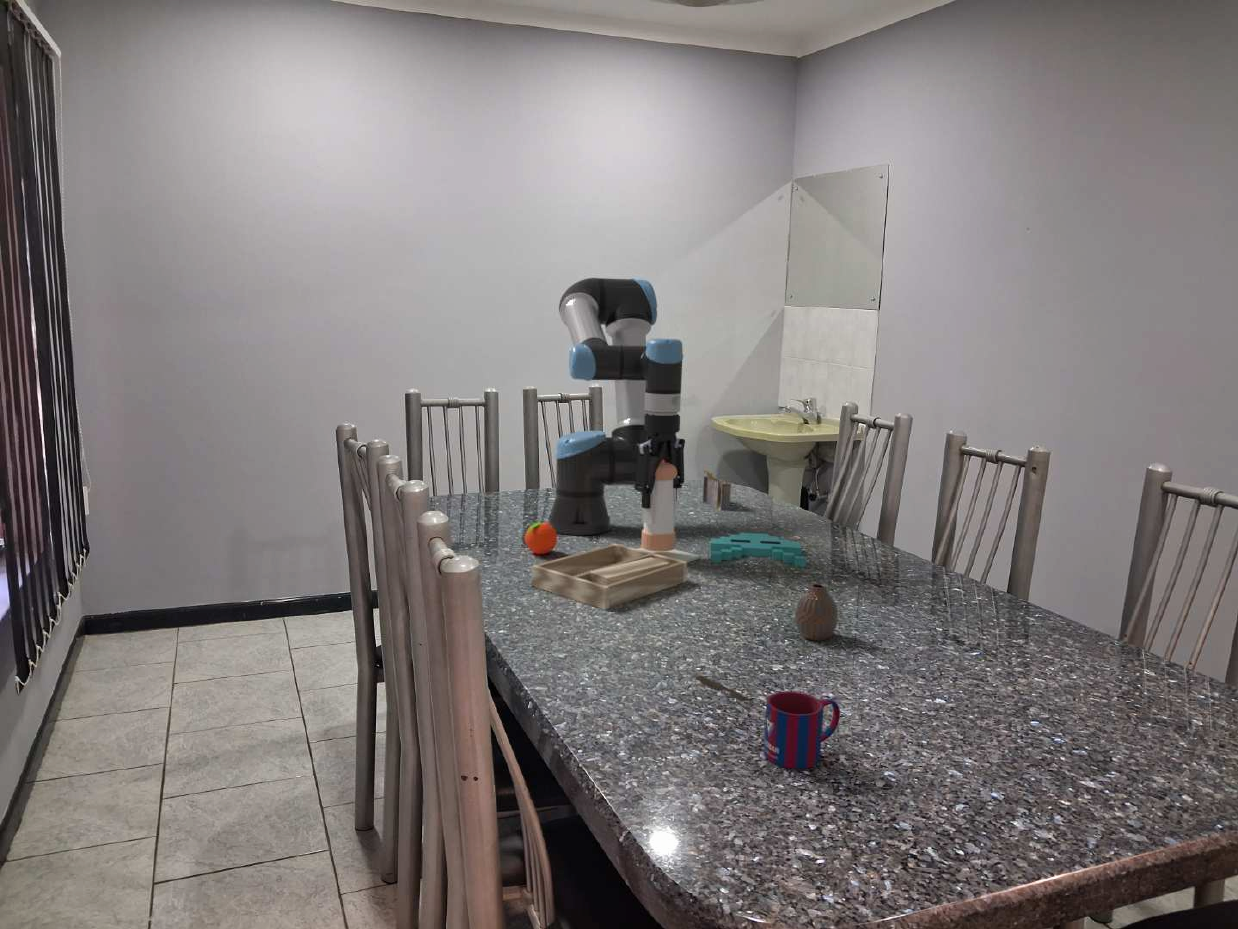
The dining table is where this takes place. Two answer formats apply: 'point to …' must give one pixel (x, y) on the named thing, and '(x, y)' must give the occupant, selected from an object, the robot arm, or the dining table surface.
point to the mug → (796, 729)
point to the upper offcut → (625, 571)
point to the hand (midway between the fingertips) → (658, 519)
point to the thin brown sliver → (720, 688)
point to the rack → (568, 583)
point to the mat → (675, 554)
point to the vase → (816, 613)
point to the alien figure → (756, 548)
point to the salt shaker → (661, 512)
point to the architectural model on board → (716, 492)
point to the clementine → (541, 538)
